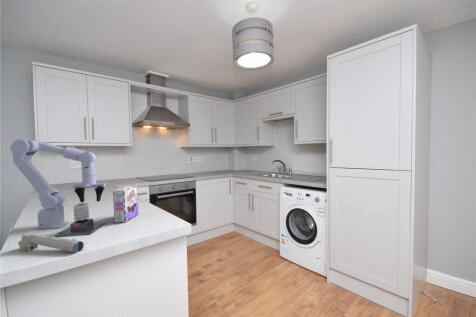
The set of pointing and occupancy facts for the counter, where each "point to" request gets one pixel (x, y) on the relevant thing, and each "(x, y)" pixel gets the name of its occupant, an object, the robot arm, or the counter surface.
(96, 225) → the stand
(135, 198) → the candy box
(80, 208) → the column
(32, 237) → the grey elongated piece
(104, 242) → the counter surface
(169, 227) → the counter surface
